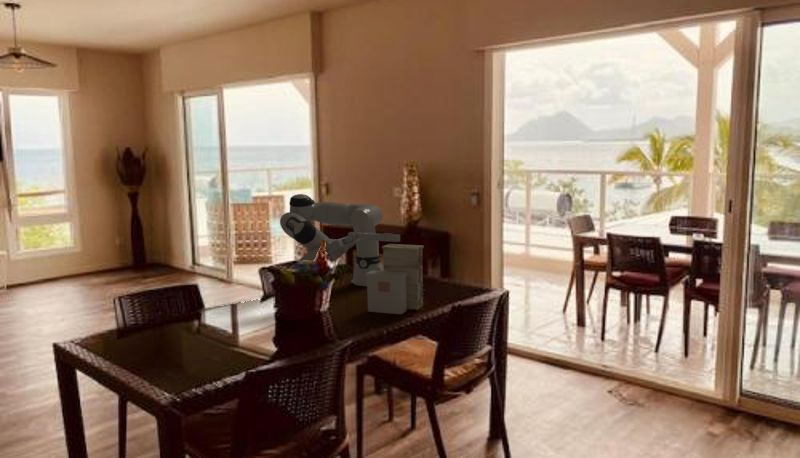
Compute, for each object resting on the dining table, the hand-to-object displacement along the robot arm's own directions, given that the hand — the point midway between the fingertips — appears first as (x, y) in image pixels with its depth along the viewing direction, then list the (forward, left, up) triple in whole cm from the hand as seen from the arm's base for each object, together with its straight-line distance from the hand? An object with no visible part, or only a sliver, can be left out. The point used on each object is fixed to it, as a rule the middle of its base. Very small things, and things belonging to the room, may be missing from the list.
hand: (357, 234), depth 251 cm
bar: (0, +7, -2) cm, 7 cm away
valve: (-22, +16, -32) cm, 42 cm away
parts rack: (0, +12, -32) cm, 34 cm away
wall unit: (-9, +16, -32) cm, 37 cm away
